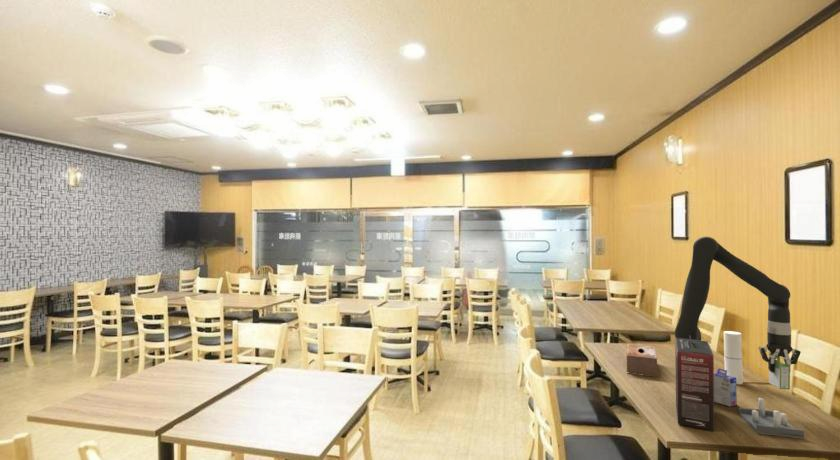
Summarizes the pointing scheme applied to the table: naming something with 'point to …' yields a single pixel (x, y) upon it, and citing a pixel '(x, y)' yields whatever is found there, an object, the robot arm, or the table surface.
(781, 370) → the ink box
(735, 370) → the cylindrical container
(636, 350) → the tissue box cover
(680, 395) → the headset box
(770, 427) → the tray
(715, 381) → the ink cartridge box
